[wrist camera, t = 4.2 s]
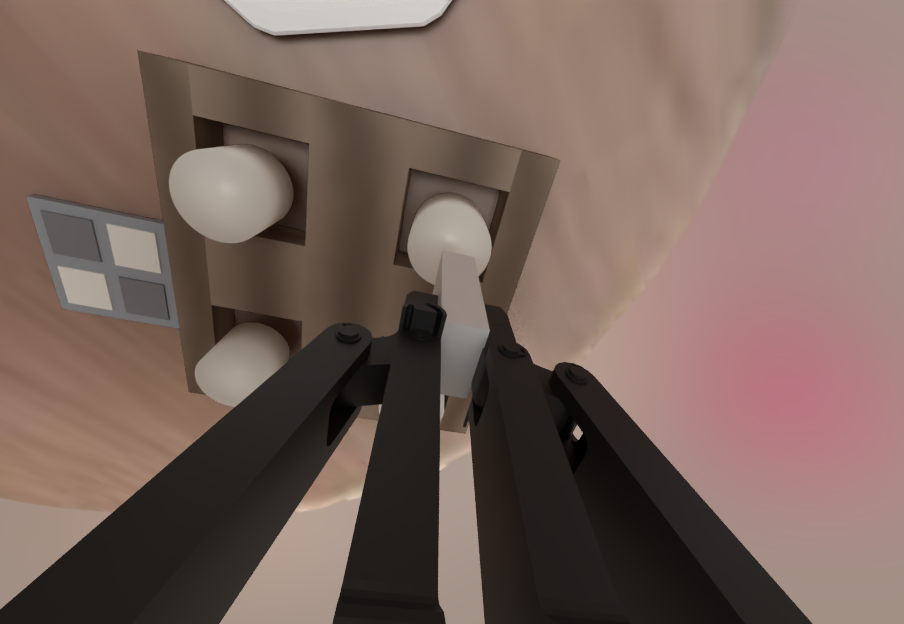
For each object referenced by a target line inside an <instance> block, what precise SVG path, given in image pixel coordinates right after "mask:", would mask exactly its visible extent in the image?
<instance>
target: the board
mask: <svg viewBox="0 0 904 624" xmlns="http://www.w3.org/2000/svg"><path fill="white" fill-rule="evenodd" d="M137 51H138V50H137ZM138 57H139V64H140V71H141V77H142V84H143V91H144V97H145V104H146V110H147V117H148V124H149V130H150V137H151V144H152V150H153V157H154V164H155V170H156V177H157V184H158V190H159V197H160V204H161V210H162V217H163V224H164V230H165V237H166V244H167V250H168V257H169V263H170V270H171V277H172V283H173V290H174V297H175V303H176V310H177V317H178V323H179V330H180V337H181V343H182V350H183V357H184V363H185V370H186V377H187V383H188V390H189V392H191V393H198V394H205V393H204V392H203V391H202V390H201V388H200V387H199V386H198V384H197V382H196V379H195V368H196V365H197V363H198V362H199V361H200V360H201V359H202V358H203V357H204V356H205V355H206V354H207V353H208V352H209V351H210V350H211V349H212V348H213V347H214V346H215V345H216V344H217V343H218V342H219V341H220V340H221V339H222V338H223V337H224V336H225V335H226V334H227V333H228V332H229V331H230V330H231V329H232V328H233V327H235V318H234V309H237V310H242V311H248V312H253V313H259V314H265V315H270V316H276V317H281V318H287V319H292V320H298V321H302V342H301V350H302V349H303V348H304V347H305V346H306V345H308V344H309V343H310V342H311V341H312V340H313V339H314V338H316V337H317V336H318V335H319V334H320V333H321V332H323V331H324V330H325V329H326V328H328V327H329V326H331V325H333V324H338V323H354V324H358V325H361V326H363V327H365V328H367V329H368V330H369V331H370V332H371V334H372V337H373V338H381V337H384V336H386V337H387V336H391V335H393V334H395V333H396V332H397V331H398V329H399V323H400V318H401V313H402V308H403V305H404V304H405V300H406V295H407V294H409V293H410V292H411V291H413V290H414V291H419V292H424V293H429V294H433V290H434V284H431V283H429V282H427V281H426V280H424V279H423V278H422V277H421V276H420V275H419V274H418V273H417V272H416V271H415V269H414V268H413V266H412V264H411V262H410V259H409V256H408V253H406V252H401V251H398V247H399V241H400V235H401V229H402V223H403V217H404V211H405V205H406V199H407V193H408V187H409V181H410V175H411V169H417V170H421V171H425V172H429V173H433V174H437V175H441V176H445V177H449V178H454V179H458V180H462V181H466V182H470V183H474V184H478V185H482V186H486V187H491V188H495V189H499V190H501V192H500V196H499V199H498V203H497V206H496V210H495V213H494V217H493V220H492V224H491V227H490V231H489V234H490V238H491V245H492V249H491V256H490V259H489V262H488V264H487V266H486V268H485V269H484V271H483V272H482V273H481V274H480V275H479V276H478V278H479V282H480V287H481V292H482V296H483V301H484V304H488V305H492V306H497V307H501V308H502V309H503V310H504V312H505V313H506V314H507V313H508V310H509V307H510V304H511V301H512V298H513V295H514V293H515V290H516V287H517V284H518V281H519V278H520V275H521V272H522V270H523V267H524V264H525V261H526V258H527V255H528V252H529V249H530V247H531V244H532V241H533V238H534V235H535V232H536V229H537V226H538V223H539V221H540V218H541V215H542V212H543V209H544V206H545V203H546V200H547V198H548V195H549V192H550V189H551V186H552V183H553V180H554V177H555V175H556V172H557V169H558V166H559V163H560V160H558V159H555V158H552V157H549V156H546V155H542V154H538V153H534V152H531V151H527V150H523V149H519V148H515V147H511V146H508V145H504V144H500V143H496V142H492V141H488V140H485V139H481V138H477V137H473V136H469V135H465V134H461V133H458V132H454V131H450V130H446V129H442V128H438V127H435V126H431V125H427V124H423V123H419V122H415V121H412V120H408V119H404V118H400V117H396V116H392V115H388V114H385V113H381V112H377V111H373V110H369V109H365V108H362V107H358V106H354V105H350V104H346V103H342V102H338V101H335V100H331V99H327V98H323V97H319V96H315V95H312V94H308V93H304V92H300V91H296V90H292V89H289V88H285V87H281V86H277V85H273V84H269V83H265V82H262V81H258V80H254V79H250V78H246V77H242V76H239V75H235V74H231V73H227V72H223V71H219V70H216V69H212V68H208V67H204V66H200V65H196V64H192V63H189V62H185V61H181V60H177V59H173V58H169V57H164V56H160V55H155V54H151V53H146V52H142V51H138ZM222 122H223V123H227V124H231V125H235V126H240V127H244V128H248V129H252V130H256V131H260V132H264V133H268V134H273V135H277V136H281V137H285V138H289V139H293V140H297V141H301V142H305V143H309V163H308V188H307V214H306V231H302V230H298V229H293V228H288V227H284V226H279V225H274V224H273V225H271V226H270V227H268V228H266V229H265V230H263V231H261V232H260V233H258V234H257V235H255V236H253V237H252V238H250V239H248V240H246V241H243V242H239V243H223V242H219V241H215V240H212V239H210V238H208V237H206V236H204V235H202V234H200V233H199V232H197V231H196V230H195V229H193V228H192V227H191V226H190V225H189V224H188V223H187V222H186V221H185V220H184V219H183V218H182V216H181V215H180V214H179V212H178V210H177V209H176V207H175V205H174V203H173V201H172V198H171V194H170V189H169V176H170V171H171V169H172V166H173V165H174V163H175V162H176V160H177V159H178V158H179V157H180V156H182V155H183V154H185V153H187V152H189V151H192V150H197V149H205V148H213V147H222V146H223V130H222ZM205 395H206V394H205ZM471 399H472V386H471V389H470V392H469V395H468V398H467V399H465V398H459V397H453V396H447V395H444V415H443V417H442V419H441V421H440V430H444V431H451V432H457V433H464V434H466V431H467V428H468V425H469V421H468V423H467V426H466V427H463V423H464V419H465V416H466V413H467V410H468V408H469V405H470V402H471ZM378 407H379V405H369V406H362V408H361V411H360V413H359V415H358V416H357V417H358V418H364V419H371V420H379V415H380V414H379V408H378Z"/></svg>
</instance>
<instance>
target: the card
mask: <svg viewBox="0 0 904 624" xmlns="http://www.w3.org/2000/svg"><path fill="white" fill-rule="evenodd" d="M26 198H27V202H28V205H29V208H30V211H31V214H32V217H33V220H34V223H35V226H36V230H37V233H38V236H39V239H40V242H41V245H42V248H43V251H44V254H45V258H46V261H47V264H48V267H49V270H50V273H51V276H52V279H53V282H54V286H55V289H56V292H57V295H58V298H59V301H60V304H61V307H62V309H66V310H72V311H78V312H84V313H90V314H95V315H101V316H107V317H113V318H119V319H125V320H130V321H136V322H142V323H148V324H154V325H160V326H166V327H171V328H177V329H179V323H178V317H177V310H176V303H175V297H174V290H173V283H172V277H171V270H170V263H169V257H168V250H167V244H166V237H165V230H164V224H163V221H162V220H157V219H152V218H147V217H142V216H137V215H132V214H128V213H123V212H118V211H113V210H108V209H103V208H98V207H94V206H89V205H84V204H79V203H74V202H69V201H64V200H60V199H55V198H50V197H45V196H40V195H35V194H34V195H28V196H26Z"/></svg>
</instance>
